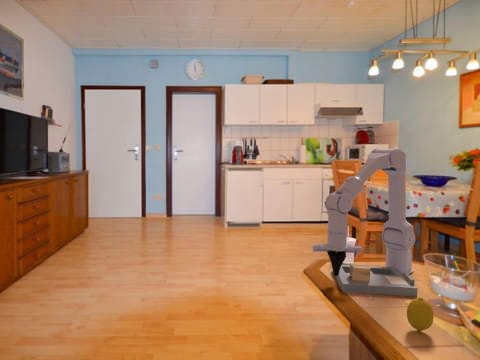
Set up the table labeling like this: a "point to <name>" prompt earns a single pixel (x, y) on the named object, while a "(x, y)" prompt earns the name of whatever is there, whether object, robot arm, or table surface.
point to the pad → (397, 280)
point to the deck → (377, 282)
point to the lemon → (420, 314)
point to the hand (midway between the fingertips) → (335, 274)
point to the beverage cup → (349, 256)
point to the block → (359, 272)
